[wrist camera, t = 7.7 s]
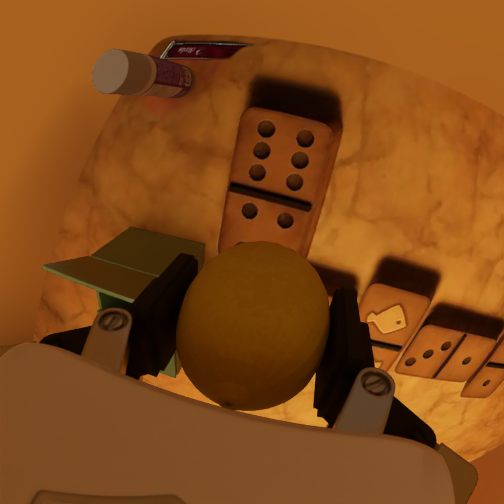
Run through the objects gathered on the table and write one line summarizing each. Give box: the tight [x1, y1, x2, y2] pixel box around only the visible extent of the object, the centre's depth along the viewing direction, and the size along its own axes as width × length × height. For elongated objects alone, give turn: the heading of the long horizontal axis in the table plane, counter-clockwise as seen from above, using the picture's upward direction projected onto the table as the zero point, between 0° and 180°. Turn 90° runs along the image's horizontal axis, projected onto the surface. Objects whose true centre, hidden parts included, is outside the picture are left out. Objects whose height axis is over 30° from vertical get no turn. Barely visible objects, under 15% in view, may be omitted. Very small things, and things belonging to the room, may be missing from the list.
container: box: [92, 49, 194, 98], centre depth 27 cm, size 5×5×15 cm
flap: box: [42, 256, 156, 303], centre depth 30 cm, size 9×13×1 cm
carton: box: [91, 227, 205, 378], centre depth 43 cm, size 18×13×11 cm
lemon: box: [176, 241, 331, 411], centre depth 11 cm, size 6×6×8 cm
